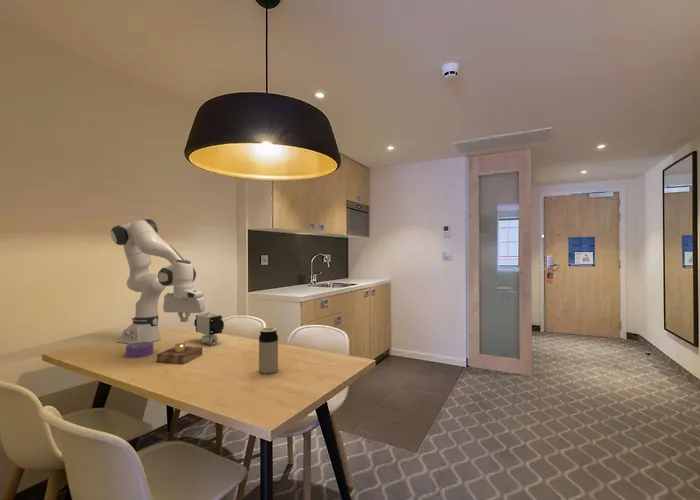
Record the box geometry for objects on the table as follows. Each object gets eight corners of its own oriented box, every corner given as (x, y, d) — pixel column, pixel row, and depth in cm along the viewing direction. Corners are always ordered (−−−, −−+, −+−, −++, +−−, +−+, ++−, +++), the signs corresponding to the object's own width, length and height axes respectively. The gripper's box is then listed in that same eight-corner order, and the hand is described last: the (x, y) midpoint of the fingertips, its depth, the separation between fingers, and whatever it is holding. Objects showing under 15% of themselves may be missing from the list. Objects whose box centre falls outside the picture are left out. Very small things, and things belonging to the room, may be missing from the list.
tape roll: (149, 357, 166) (149, 347, 166) (121, 359, 163) (121, 348, 163) (155, 350, 177) (155, 341, 177) (130, 352, 174) (130, 342, 174)
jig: (156, 362, 157) (156, 353, 157) (177, 353, 171) (177, 345, 171) (183, 364, 155) (183, 355, 155) (202, 355, 168) (202, 347, 168)
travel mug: (266, 375, 140) (266, 332, 140) (255, 371, 145) (255, 329, 146) (281, 370, 146) (281, 328, 146) (270, 366, 151) (270, 326, 152)
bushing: (172, 359, 161) (172, 345, 161) (179, 357, 165) (179, 342, 165) (180, 360, 160) (180, 345, 160) (187, 357, 164) (187, 343, 164)
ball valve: (226, 344, 188) (226, 312, 188) (212, 348, 181) (212, 314, 181) (207, 339, 198) (207, 309, 198) (193, 343, 191) (193, 311, 191)
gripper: (159, 293, 163) (160, 322, 163) (198, 294, 159) (199, 323, 160) (168, 292, 169) (169, 319, 169) (206, 292, 166) (206, 320, 166)
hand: (184, 321), depth 164 cm, fingers closed
